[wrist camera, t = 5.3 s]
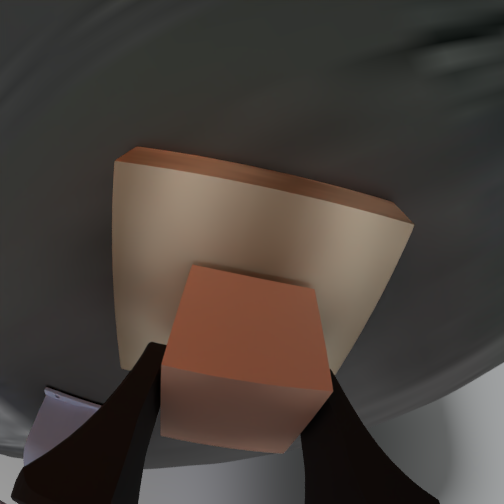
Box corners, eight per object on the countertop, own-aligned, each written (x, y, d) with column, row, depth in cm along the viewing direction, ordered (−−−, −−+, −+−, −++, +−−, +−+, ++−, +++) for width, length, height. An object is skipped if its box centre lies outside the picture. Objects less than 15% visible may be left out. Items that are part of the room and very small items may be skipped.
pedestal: (134, 333, 19) (121, 368, 17) (140, 144, 13) (114, 160, 11) (313, 363, 20) (319, 399, 18) (388, 198, 14) (414, 224, 12)
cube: (181, 346, 15) (160, 435, 11) (192, 264, 12) (161, 364, 8) (280, 364, 15) (283, 453, 11) (314, 289, 13) (333, 391, 9)
